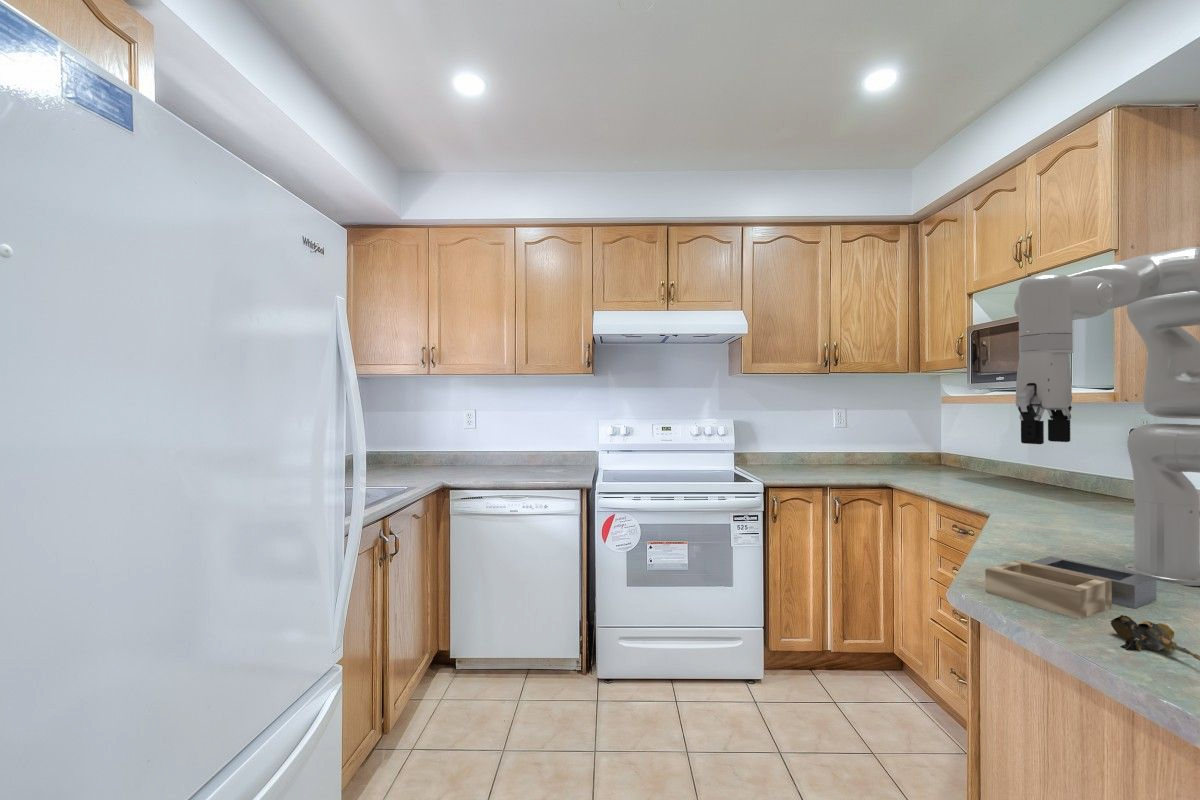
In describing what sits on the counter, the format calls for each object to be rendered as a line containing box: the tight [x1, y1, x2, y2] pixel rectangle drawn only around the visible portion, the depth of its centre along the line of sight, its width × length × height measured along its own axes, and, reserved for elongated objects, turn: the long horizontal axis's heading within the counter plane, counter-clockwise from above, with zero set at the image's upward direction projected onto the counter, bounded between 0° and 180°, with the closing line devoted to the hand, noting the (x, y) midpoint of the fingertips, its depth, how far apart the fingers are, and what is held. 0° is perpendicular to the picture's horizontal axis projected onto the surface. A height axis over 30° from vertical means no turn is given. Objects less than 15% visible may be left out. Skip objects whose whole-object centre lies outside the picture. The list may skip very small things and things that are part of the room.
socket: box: [984, 559, 1113, 620], centre depth 100 cm, size 12×14×5 cm
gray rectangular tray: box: [1030, 555, 1157, 610], centre depth 106 cm, size 9×16×4 cm, turn 29°
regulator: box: [1110, 614, 1200, 661], centre depth 79 cm, size 8×4×15 cm
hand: (1045, 442), depth 100 cm, fingers open, 9 cm apart
